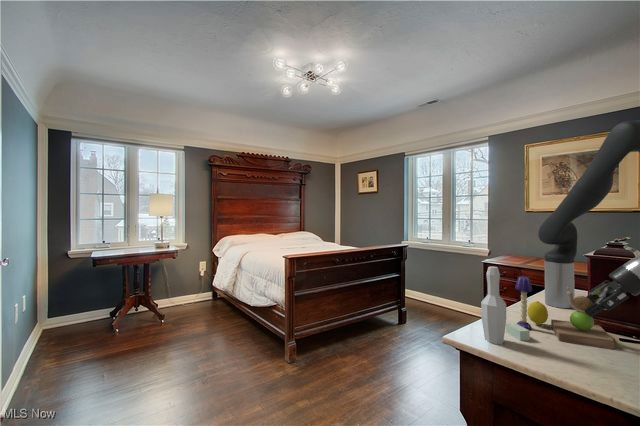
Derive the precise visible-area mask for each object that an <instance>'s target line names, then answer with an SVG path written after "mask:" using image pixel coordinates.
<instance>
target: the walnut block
mask: <svg viewBox="0 0 640 426" xmlns="http://www.w3.org/2000/svg"><path fill="white" fill-rule="evenodd" d="M550 321H551V322H550V326H551V329H552V330H553V331H552V332H554V334H555V336H556V338H557V340H558V341H559V342H562V343H563V342H564V343H569V344H577V345H584V346H591V347H598V348H603V349H609V350H615V341H614V339H613V338H612V337H611V336H610V335H609V334H608V333H607V332H606V330H605V329H603V327H602V326H601V325H600V324H599V325H598V324H594V325H593V327H592V328H591V329H589V330H580V329H577V328H576V327H574V326H573V325H572V323H571V322H570V320H569V321H567V320H562V319H561V320H559V319H552V318H551V319H550Z"/></svg>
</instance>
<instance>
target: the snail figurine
mask: <svg viewBox="0 0 640 426" xmlns="http://www.w3.org/2000/svg"><path fill="white" fill-rule="evenodd" d="M569 289H570V288H569V287H568V288H567V295H568V299H569V302H570V305H571V306H572V308H571V309H573V310H575V311H574V312H572V313H571V314H570V316H569V322H571V323H572V325H573V326H574V327H576V328H577V329H580V330H589V329H591V328H592V327H593V325H595V321H594V318H593V317H590V316H589V315H588V314H586V313H585V311H584V310H585V309H587V308H588V307H590V306H591V305H593V304H594V303H592V301H591V300H590V299H589V298H587V297H586V296H584V295H578V296H576V297H575V299H574V300H573V297H572V295H573V293H572V292H570V291H569Z"/></svg>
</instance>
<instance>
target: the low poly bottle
mask: <svg viewBox="0 0 640 426" xmlns="http://www.w3.org/2000/svg"><path fill="white" fill-rule="evenodd" d="M500 276H501V273H500V270H499V267H497V266H488V268H487V271H486V282H487V295H486V296H485V297H484V298H483V299H482V301H480V302H481V303H480V308H481V309H480V310H481V312H480V313H481V315H480V316H481V321H482V322H481V323H482V329H483V334H484V335H483V336H484V341H486V340H487V341H486V342H487V343H489V342H490V343H489V344H493V343H494V345H502V344H503V343H504V341H505V334H506V324H507V302H505V300H504V299H503V298H502V297H501V296H500V278H501V277H500Z"/></svg>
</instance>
